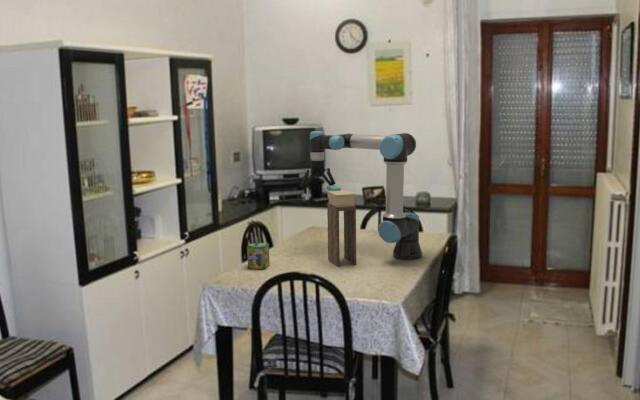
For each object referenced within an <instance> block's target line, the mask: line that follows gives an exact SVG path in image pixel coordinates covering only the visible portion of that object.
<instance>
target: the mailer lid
mask: <svg viewBox="0 0 640 400" xmlns="http://www.w3.org/2000/svg"><path fill="white" fill-rule="evenodd" d="M326 190H327V193H326V194H328V193H329V194H331V195H333V196H336V197H340V196H354V197H355V196H356V193H354V192H352V191H349V190H347V189H342V188H341V187H339V186H336V185H335V184H334V185H333V186H329V185H327V186H326ZM328 190H329V191H328Z"/></svg>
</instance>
